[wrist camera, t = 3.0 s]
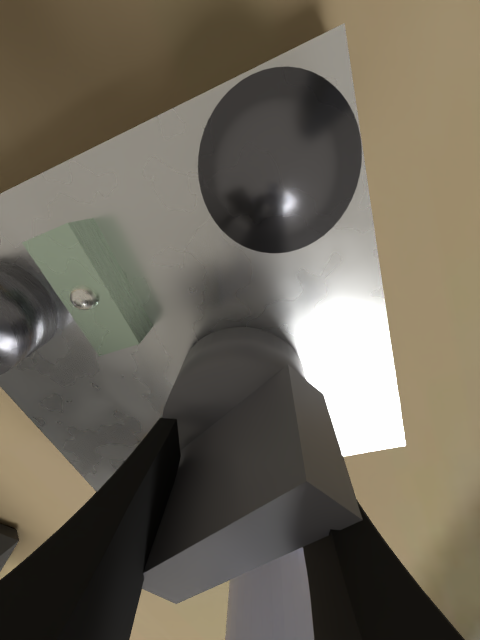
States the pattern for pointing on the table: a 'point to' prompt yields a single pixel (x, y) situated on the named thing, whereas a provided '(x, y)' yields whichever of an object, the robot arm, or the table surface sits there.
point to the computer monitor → (7, 543)
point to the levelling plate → (200, 260)
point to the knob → (246, 465)
